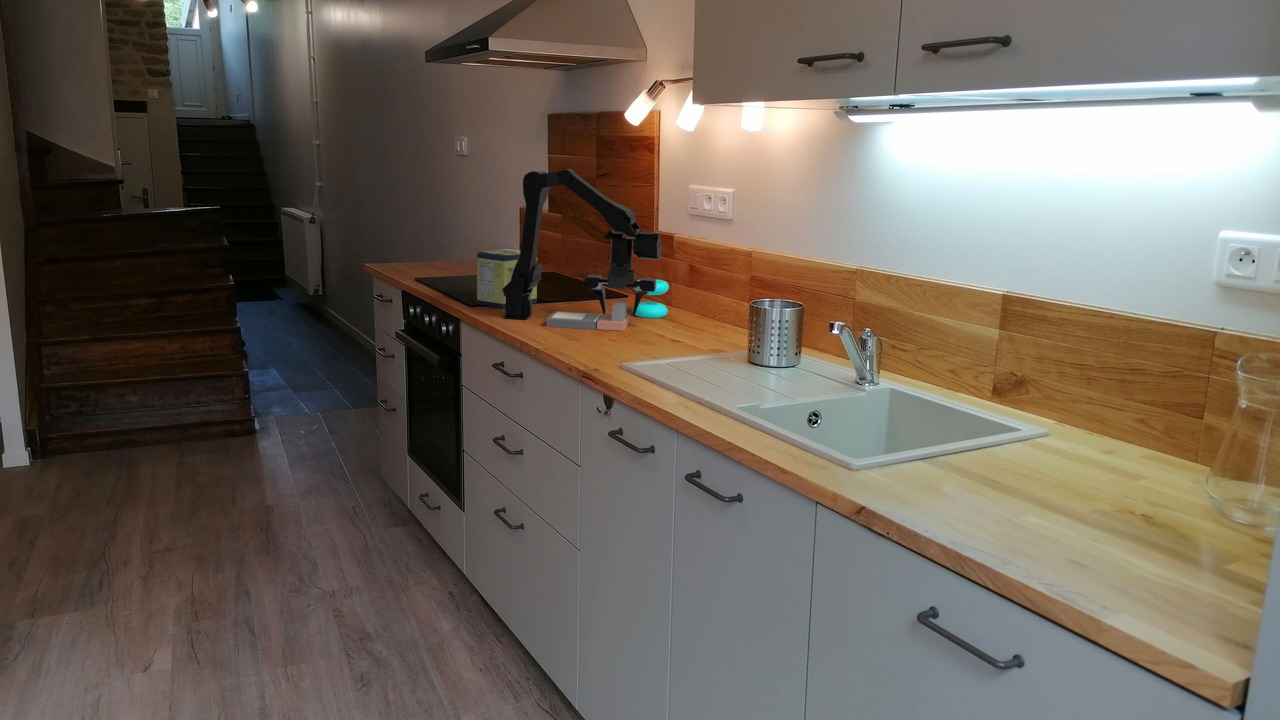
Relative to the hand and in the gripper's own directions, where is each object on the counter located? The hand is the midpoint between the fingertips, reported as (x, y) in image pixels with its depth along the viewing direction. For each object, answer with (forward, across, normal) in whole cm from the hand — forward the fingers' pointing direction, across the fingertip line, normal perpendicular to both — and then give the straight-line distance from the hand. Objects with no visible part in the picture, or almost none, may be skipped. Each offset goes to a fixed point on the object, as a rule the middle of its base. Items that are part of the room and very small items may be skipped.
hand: (619, 315), depth 249 cm
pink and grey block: (+3, -2, 0) cm, 3 cm away
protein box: (+3, -36, +24) cm, 44 cm away
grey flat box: (+3, -12, 0) cm, 12 cm away
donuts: (+3, +6, +19) cm, 20 cm away
